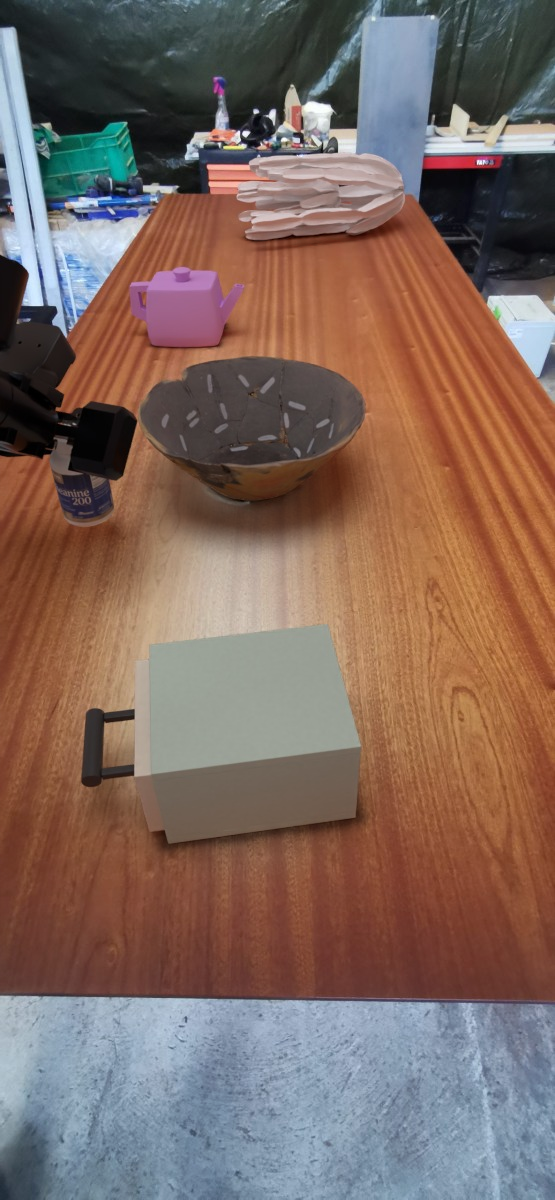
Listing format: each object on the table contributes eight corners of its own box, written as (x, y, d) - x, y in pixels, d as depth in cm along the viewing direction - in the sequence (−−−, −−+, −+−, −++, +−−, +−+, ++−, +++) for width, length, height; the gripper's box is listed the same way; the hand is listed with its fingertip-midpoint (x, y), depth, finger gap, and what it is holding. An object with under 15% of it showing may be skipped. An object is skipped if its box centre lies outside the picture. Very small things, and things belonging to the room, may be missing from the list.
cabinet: (168, 844, 52) (150, 774, 47) (164, 716, 61) (149, 644, 55) (355, 818, 53) (361, 746, 48) (326, 696, 62) (328, 623, 56)
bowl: (324, 566, 75) (325, 483, 68) (110, 521, 81) (93, 441, 75) (385, 443, 92) (391, 367, 85) (205, 415, 99) (197, 342, 92)
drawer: (90, 840, 52) (69, 785, 47) (97, 723, 59) (79, 666, 55) (323, 808, 53) (324, 751, 49) (300, 698, 61) (299, 640, 56)
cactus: (388, 163, 160) (228, 171, 157) (414, 123, 143) (235, 131, 139) (393, 246, 163) (237, 256, 159) (420, 217, 146) (244, 227, 142)
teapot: (249, 322, 122) (246, 256, 115) (243, 349, 114) (239, 280, 107) (142, 322, 123) (133, 257, 116) (129, 348, 115) (117, 281, 108)
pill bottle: (53, 522, 77) (30, 439, 71) (82, 495, 81) (63, 414, 74) (97, 533, 76) (78, 449, 69) (124, 505, 79) (108, 423, 73)
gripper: (106, 318, 57) (186, 390, 72) (-82, 292, 63) (29, 364, 78) (69, 456, 57) (158, 500, 72) (-115, 417, 63) (2, 466, 78)
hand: (85, 453), depth 75 cm, fingers closed on pill bottle, 5 cm apart
